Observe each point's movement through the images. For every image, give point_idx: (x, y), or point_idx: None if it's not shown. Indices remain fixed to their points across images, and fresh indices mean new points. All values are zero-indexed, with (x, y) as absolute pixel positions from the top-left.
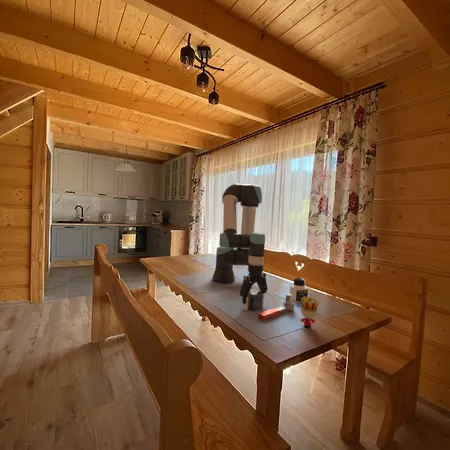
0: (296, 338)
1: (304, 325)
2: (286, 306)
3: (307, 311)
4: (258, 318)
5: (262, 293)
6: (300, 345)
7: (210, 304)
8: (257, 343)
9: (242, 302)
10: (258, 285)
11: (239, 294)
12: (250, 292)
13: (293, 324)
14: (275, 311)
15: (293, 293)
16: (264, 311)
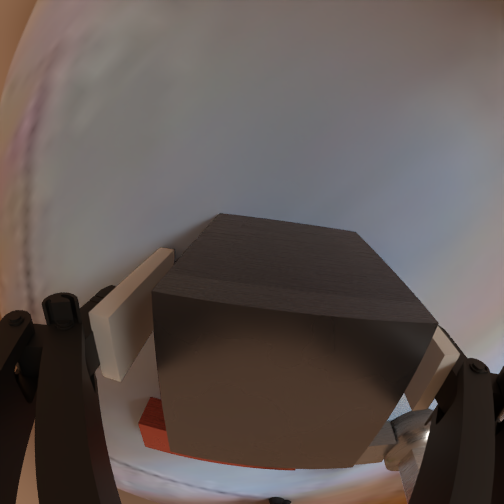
0: (174, 493)
1: (272, 502)
2: (385, 459)
3: None
4: (150, 402)
5: (343, 461)
6: (154, 496)
7: (51, 26)
8: None
9: (105, 289)
10: (449, 464)
11: (5, 317)
12: (204, 394)
13: (257, 484)
14: (258, 467)
15: None
16: None
